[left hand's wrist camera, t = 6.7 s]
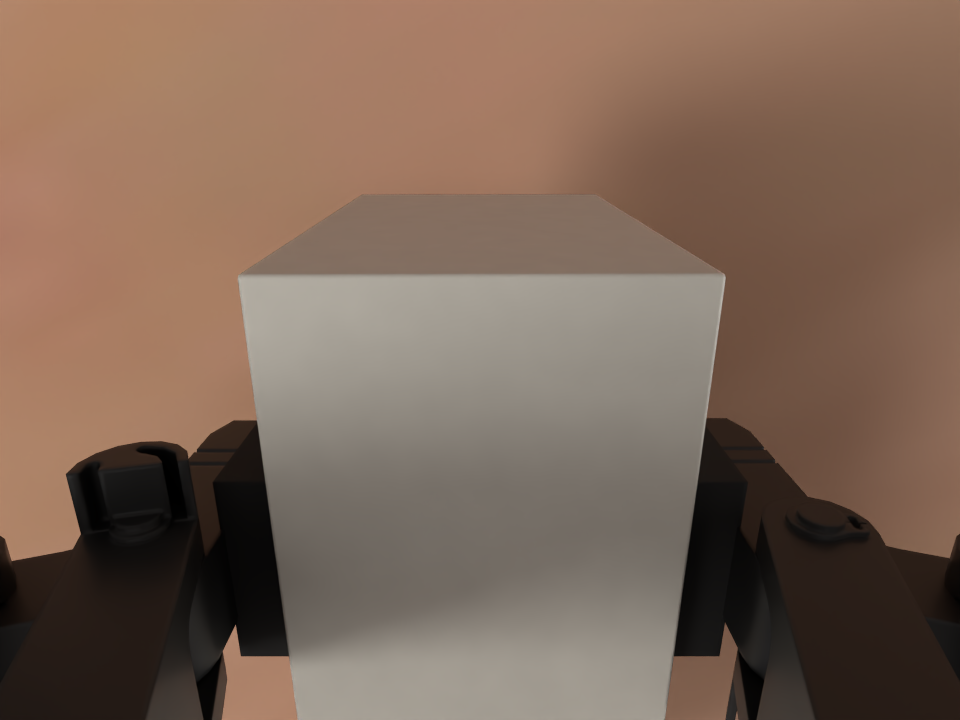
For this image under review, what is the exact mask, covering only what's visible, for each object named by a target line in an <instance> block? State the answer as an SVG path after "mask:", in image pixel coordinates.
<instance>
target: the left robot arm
mask: <svg viewBox="0 0 960 720" xmlns="http://www.w3.org/2000/svg"><path fill="white" fill-rule="evenodd" d="M66 477H67V481H68V485H69V489H70V493H71V496H72V500H73V504H74V508H75V512H76V516H77V520H78V524H79V528H80V532H81V535H80V537H79V539H78V541H77V543H76V545H75V546H74V548H73V549H72V550H68V551H64V552H59V553H53V554H48V555H43V556H37V557H32V558H27V559H21V560H16V561H11V558H10V555H9V551H8V548H7V545H6V541H5V539H4V538H3V537H1V536H0V720H222V713H223V706H224V699H225V691H226V684H227V675H226V668H225V662H224V656H223V649H224V647H225V645H226V643H227V641H228V639H229V637H230V635H231V633H232V631H233V629H234V627H235V625H236V628H237V634H238V640H239V646H240V652H241V656H289V652H288V644H287V637H286V630H285V622H284V615H283V608H282V600H281V593H280V586H279V578H278V571H277V564H276V556H275V549H274V541H273V534H272V527H271V519H270V512H269V505H268V497H267V490H266V483H265V475H264V468H263V460H262V453H261V446H260V438H259V431H258V424H257V421H232V422H230V423H229V424H227V425H225V426H223V427H222V428H220V429H218V430H216V431H215V432H213V433H211V434H210V435H209V436H208V437H207V439H206V440H205V441H204V442H203V443H202V444H201V445H200V447H199V448H198V449H197V452H194V453H193V455H192V456H191V457H190V458H189V459H188V454H187V451H186V450H185V449H184V448H182V447H181V446H179V445H178V444H173V443H167V442H162V441H158V442H138V443H132V444H127V445H121V446H117V447H114V448H111V449H108V450H105V451H102V452H99V453H96V454H94V455H92V456H90V457H88V458H86V459H85V460H83V461H81V462H79V463H77V464H76V465H75V466H74V467H73V468H72V469H71V470H70V471H69V472H68V473H67V474H66ZM725 623H726V625H727V627H728V629H729V631H730V633H731V635H732V637H733V639H734V641H735V643H736V645H737V647H738V651H737V656H736V662H735V668H734V673H733V679H732V684H731V690H730V696H729V701H728V707H727V714H726V720H735V717H736V712H738V719H739V720H960V534H959V535H958V536H957V537H956V540H955V543H954V547H953V550H952V553H951V556H950V558H945V557H939V556H934V555H928V554H923V553H918V552H912V551H907V550H901V549H896V548H892V547H888V546H886V545H885V543H884V542H883V540H882V538H881V536H880V534H879V533H878V532H877V530H876V529H875V528H874V527H873V526H872V525H871V524H870V523H869V521H867V520H866V519H864V518H863V517H861V516H859V515H858V514H856V513H855V512H853V511H852V510H850V509H847V508H844V507H842V506H839V505H837V504H834V503H832V502H829V501H824V500H820V499H815V498H810V497H807V496H806V494H805V493H804V492H803V491H802V490H801V489H800V488H799V487H798V485H797V484H796V483H795V482H794V481H793V480H792V479H791V477H790V476H789V475H788V474H787V473H786V472H785V471H784V469H783V468H782V467H781V466H780V465H779V464H778V463H775V459H774V458H773V457H772V456H771V455H770V454H769V452H768V451H767V450H764V447H763V446H762V445H761V443H760V442H759V441H758V440H757V439H756V438H755V437H754V435H753V434H752V433H751V432H750V431H748V430H746V429H745V428H743V427H741V426H739V425H738V424H736V423H734V422H732V421H730V420H729V419H727V418H706V424H705V432H704V439H703V446H702V454H701V461H700V468H699V475H698V483H697V490H696V497H695V504H694V512H693V519H692V526H691V534H690V541H689V548H688V555H687V563H686V570H685V577H684V584H683V592H682V599H681V606H680V613H679V621H678V628H677V635H676V643H675V650H674V656H719V655H720V649H721V643H722V637H723V631H724V625H725Z"/></svg>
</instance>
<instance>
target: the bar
mask: <svg viewBox="0 0 960 720" xmlns="http://www.w3.org/2000/svg"><path fill="white" fill-rule="evenodd" d="M725 279H726V277H725V274H724V273H722V272H720V271H719V270H717V269H716V268H714V267H712V266H711V265H709V264H707V263H706V262H704V261H703V260H701V259H699V258H698V257H696V256H695V255H693V254H691V253H690V252H688V251H686V250H685V249H683V248H682V247H680V246H678V245H677V244H675V243H673V242H672V241H670V240H669V239H667V238H665V237H664V236H662V235H660V234H659V233H657V232H656V231H654V230H652V229H651V228H649V227H648V226H646V225H644V224H643V223H641V222H639V221H638V220H636V219H635V218H633V217H631V216H630V215H628V214H626V213H625V212H623V211H622V210H620V209H618V208H617V207H615V206H613V205H612V204H610V203H609V202H607V201H605V200H604V199H602V198H601V197H599V196H597V195H595V194H363V195H361V196H359V197H358V198H356V199H354V200H353V201H351V202H350V203H348V204H347V205H345V206H344V207H342V208H341V209H339V210H338V211H336V212H334V213H333V214H331V215H330V216H328V217H327V218H325V219H324V220H322V221H321V222H319V223H318V224H316V225H315V226H313V227H311V228H310V229H308V230H307V231H305V232H304V233H302V234H301V235H299V236H298V237H296V238H295V239H293V240H292V241H290V242H288V243H287V244H285V245H284V246H282V247H281V248H279V249H278V250H276V251H275V252H273V253H272V254H270V255H268V256H267V257H265V258H264V259H262V260H261V261H259V262H258V263H256V264H255V265H253V266H252V267H250V268H249V269H247V270H245V271H244V272H242V273H241V274H239V276H238V284H239V291H240V299H241V306H242V313H243V321H244V328H245V335H246V343H247V350H248V357H249V365H250V372H251V379H252V387H253V394H254V402H255V409H256V416H257V424H258V431H259V438H260V446H261V453H262V460H263V468H264V475H265V483H266V490H267V497H268V505H269V512H270V519H271V527H272V534H273V541H274V549H275V556H276V564H277V571H278V578H279V586H280V593H281V600H282V608H283V615H284V622H285V630H286V637H287V644H288V652H289V659H290V667H291V674H292V681H293V689H294V696H295V703H296V711H297V718H298V720H665V715H666V708H667V701H668V693H669V686H670V679H671V672H672V664H673V657H674V650H675V643H676V635H677V628H678V621H679V613H680V606H681V599H682V592H683V584H684V577H685V570H686V563H687V555H688V548H689V541H690V534H691V526H692V519H693V512H694V504H695V497H696V490H697V483H698V475H699V468H700V461H701V454H702V446H703V439H704V432H705V424H706V417H707V410H708V403H709V395H710V388H711V381H712V374H713V366H714V359H715V352H716V344H717V337H718V330H719V323H720V315H721V308H722V301H723V294H724V286H725Z"/></svg>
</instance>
